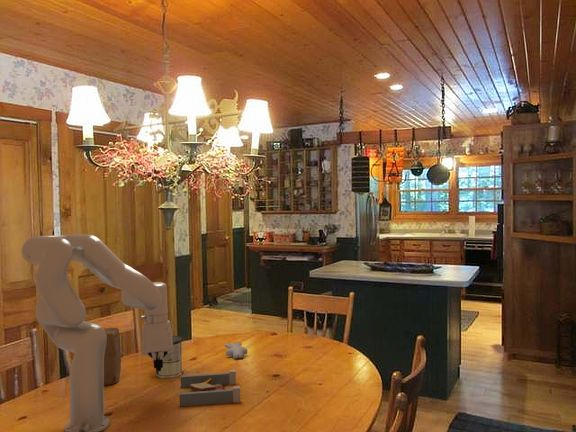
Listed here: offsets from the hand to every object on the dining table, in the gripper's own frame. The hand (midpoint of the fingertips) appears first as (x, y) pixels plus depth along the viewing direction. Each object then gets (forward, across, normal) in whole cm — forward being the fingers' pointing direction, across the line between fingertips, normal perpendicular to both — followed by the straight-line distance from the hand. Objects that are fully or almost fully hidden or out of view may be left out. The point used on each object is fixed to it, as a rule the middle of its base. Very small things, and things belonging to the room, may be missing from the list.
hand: (158, 369), depth 174 cm
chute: (+10, +17, -1) cm, 20 cm away
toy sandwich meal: (+10, +17, -2) cm, 20 cm away
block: (+10, -20, +20) cm, 30 cm away
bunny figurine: (+12, +30, +44) cm, 55 cm away
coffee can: (+10, +2, +24) cm, 26 cm away
